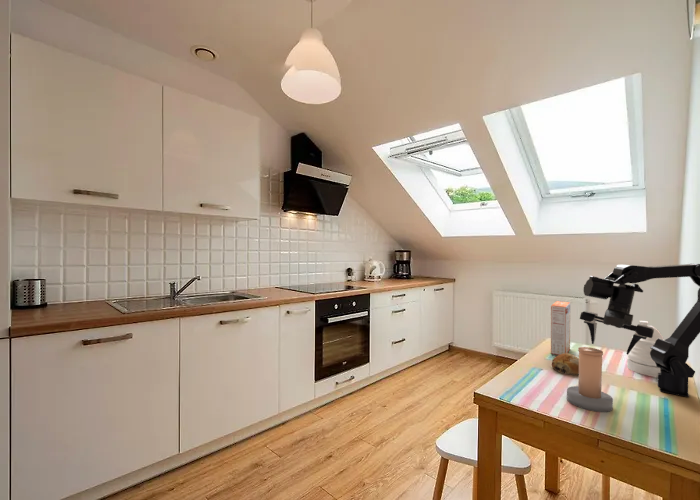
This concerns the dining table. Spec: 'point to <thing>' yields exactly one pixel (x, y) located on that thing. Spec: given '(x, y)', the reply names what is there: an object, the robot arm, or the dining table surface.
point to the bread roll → (566, 364)
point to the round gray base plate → (590, 401)
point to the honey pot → (644, 354)
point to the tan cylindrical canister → (590, 372)
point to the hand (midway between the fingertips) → (609, 348)
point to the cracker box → (560, 327)
